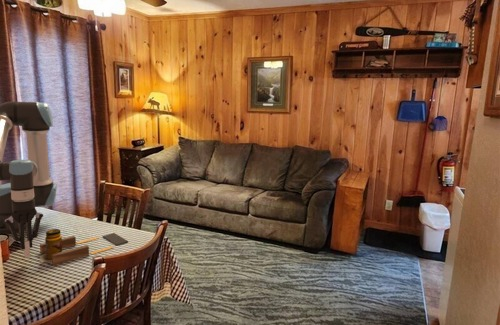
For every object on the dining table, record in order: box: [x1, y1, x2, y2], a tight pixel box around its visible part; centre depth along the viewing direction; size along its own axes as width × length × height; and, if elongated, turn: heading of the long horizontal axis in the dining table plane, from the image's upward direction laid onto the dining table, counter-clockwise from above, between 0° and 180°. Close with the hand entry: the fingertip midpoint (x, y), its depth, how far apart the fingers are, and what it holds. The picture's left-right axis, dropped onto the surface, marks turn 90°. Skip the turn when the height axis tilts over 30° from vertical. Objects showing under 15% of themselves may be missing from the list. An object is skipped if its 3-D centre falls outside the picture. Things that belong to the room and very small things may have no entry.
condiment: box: [39, 228, 63, 264], centre depth 140 cm, size 7×8×12 cm
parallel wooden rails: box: [39, 235, 90, 266], centre depth 145 cm, size 16×14×4 cm
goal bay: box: [76, 236, 114, 255], centre depth 155 cm, size 17×10×1 cm, turn 49°
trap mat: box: [102, 232, 129, 246], centre depth 162 cm, size 14×6×1 cm, turn 49°
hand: (27, 255), depth 134 cm, fingers closed
